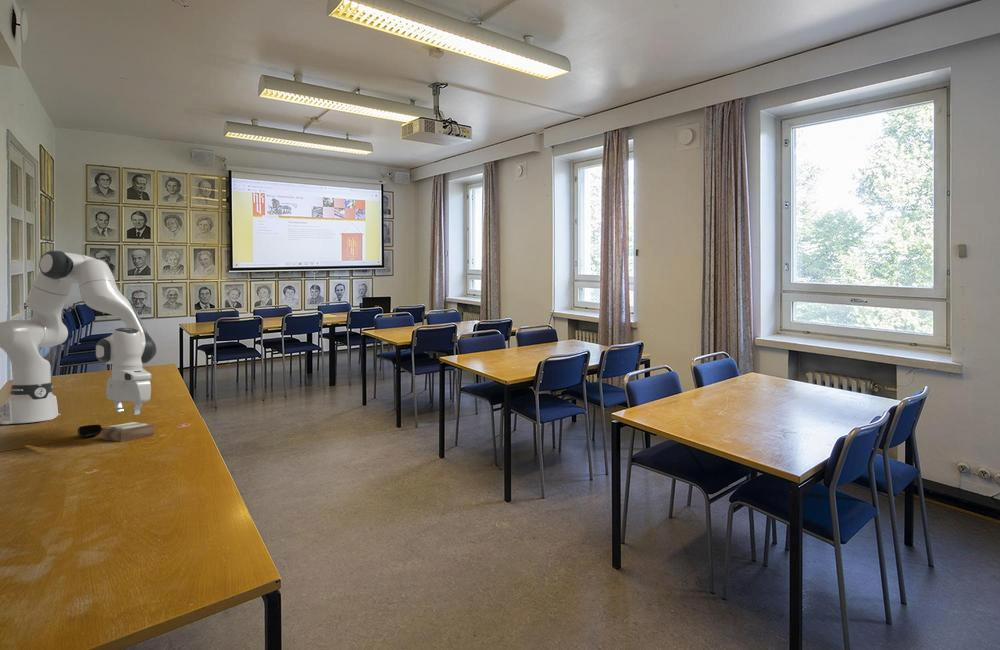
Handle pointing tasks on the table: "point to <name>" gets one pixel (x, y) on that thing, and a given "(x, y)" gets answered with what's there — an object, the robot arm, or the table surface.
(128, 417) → the table surface
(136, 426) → the brown white square block
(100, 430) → the tape measure
